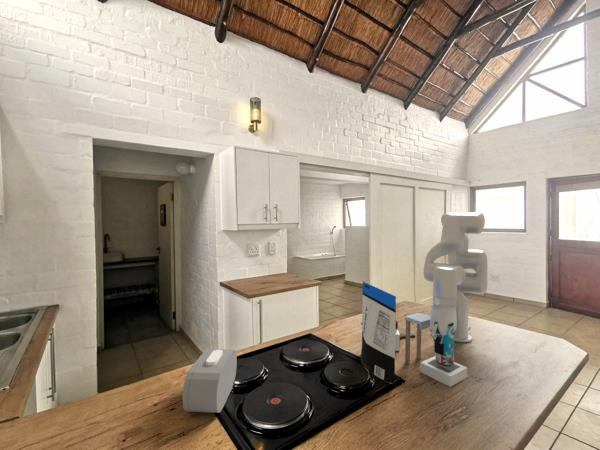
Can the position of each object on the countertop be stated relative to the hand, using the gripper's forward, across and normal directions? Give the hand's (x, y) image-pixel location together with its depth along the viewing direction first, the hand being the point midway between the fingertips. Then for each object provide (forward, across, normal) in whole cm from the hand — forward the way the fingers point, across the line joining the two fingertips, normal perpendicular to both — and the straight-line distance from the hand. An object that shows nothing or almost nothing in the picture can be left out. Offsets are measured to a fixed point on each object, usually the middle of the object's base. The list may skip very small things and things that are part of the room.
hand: (443, 351), depth 100 cm
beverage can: (+5, -1, 0) cm, 5 cm away
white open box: (+8, 0, -3) cm, 9 cm away
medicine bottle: (+9, -2, -25) cm, 27 cm away
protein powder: (+9, +17, -16) cm, 25 cm away
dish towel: (+9, -17, -39) cm, 44 cm away
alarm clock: (+9, +74, -30) cm, 80 cm away
